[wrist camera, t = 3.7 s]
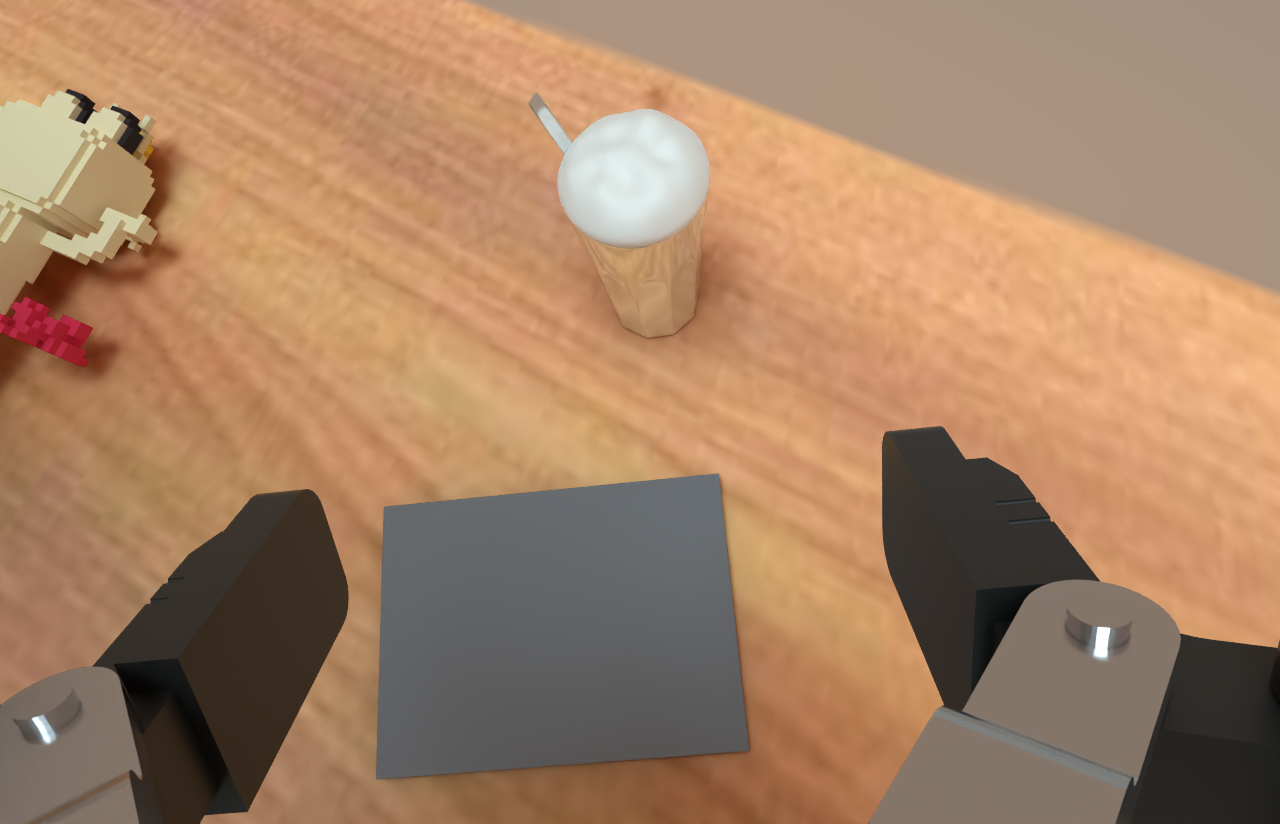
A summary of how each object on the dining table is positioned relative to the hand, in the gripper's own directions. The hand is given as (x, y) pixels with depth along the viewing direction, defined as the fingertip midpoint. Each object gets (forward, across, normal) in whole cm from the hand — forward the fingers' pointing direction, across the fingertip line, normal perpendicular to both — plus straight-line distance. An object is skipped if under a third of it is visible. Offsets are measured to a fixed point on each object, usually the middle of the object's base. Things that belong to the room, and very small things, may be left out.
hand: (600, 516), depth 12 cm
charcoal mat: (+13, +4, +12) cm, 18 cm away
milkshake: (+22, 0, +4) cm, 22 cm away
